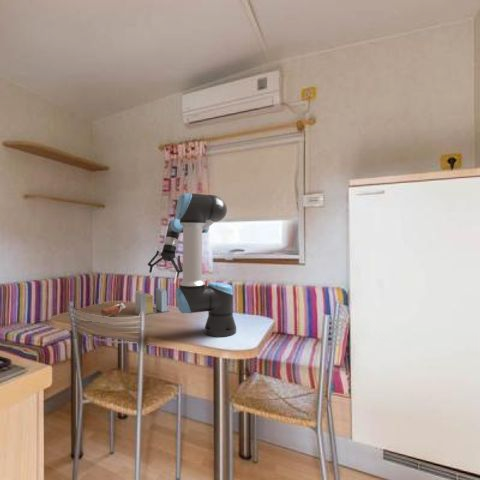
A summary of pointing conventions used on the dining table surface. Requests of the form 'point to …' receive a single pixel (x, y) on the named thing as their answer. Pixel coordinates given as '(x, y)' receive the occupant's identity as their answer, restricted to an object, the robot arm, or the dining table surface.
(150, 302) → the block
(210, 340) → the dining table surface
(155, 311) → the vise
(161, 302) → the free jaw
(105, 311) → the bull figurine
